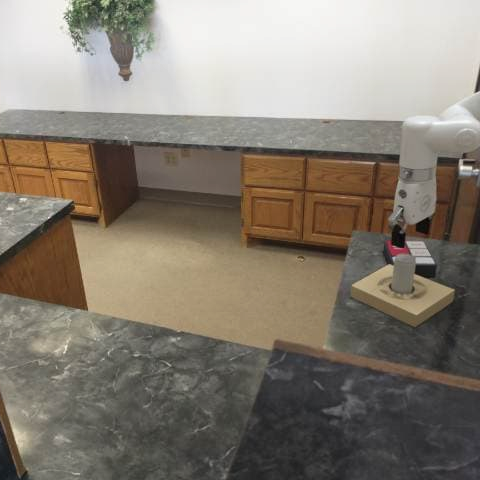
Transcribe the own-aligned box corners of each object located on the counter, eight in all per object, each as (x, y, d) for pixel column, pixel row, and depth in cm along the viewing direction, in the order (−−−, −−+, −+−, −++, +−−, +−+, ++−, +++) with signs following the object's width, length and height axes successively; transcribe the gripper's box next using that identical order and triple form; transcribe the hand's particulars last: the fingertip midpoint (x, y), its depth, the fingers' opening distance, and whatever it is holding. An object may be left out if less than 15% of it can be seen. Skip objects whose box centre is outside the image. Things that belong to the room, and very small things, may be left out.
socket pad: (452, 301, 127) (455, 289, 125) (414, 327, 119) (416, 315, 118) (388, 275, 140) (389, 264, 139) (350, 296, 133) (351, 285, 132)
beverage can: (386, 300, 130) (391, 259, 125) (394, 291, 133) (399, 251, 128) (405, 306, 127) (411, 264, 122) (413, 297, 130) (419, 256, 124)
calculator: (424, 240, 148) (437, 262, 135) (423, 253, 150) (435, 277, 137) (384, 239, 151) (393, 261, 138) (383, 252, 153) (391, 276, 140)
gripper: (409, 186, 108) (402, 257, 115) (454, 164, 116) (445, 232, 123) (378, 179, 114) (373, 247, 121) (423, 158, 122) (416, 223, 129)
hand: (410, 239), depth 122 cm, fingers open, 9 cm apart
